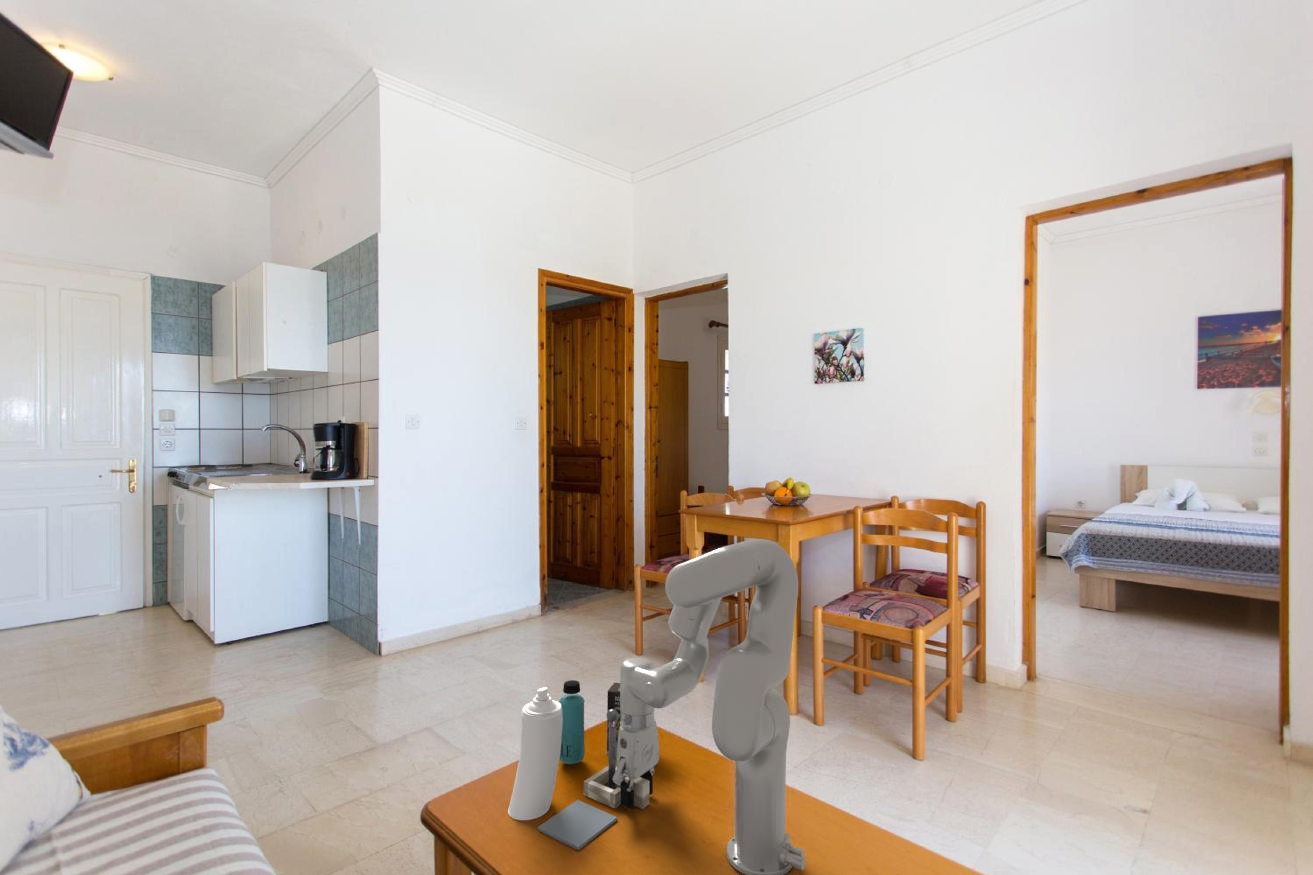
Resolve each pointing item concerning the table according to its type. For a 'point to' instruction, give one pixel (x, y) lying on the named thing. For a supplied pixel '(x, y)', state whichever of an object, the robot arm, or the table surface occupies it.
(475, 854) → the table surface
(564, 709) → the beverage bottle
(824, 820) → the table surface
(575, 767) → the table surface
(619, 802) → the cream square frame
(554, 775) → the spray can
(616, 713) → the stand
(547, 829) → the mat
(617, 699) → the coffee box
